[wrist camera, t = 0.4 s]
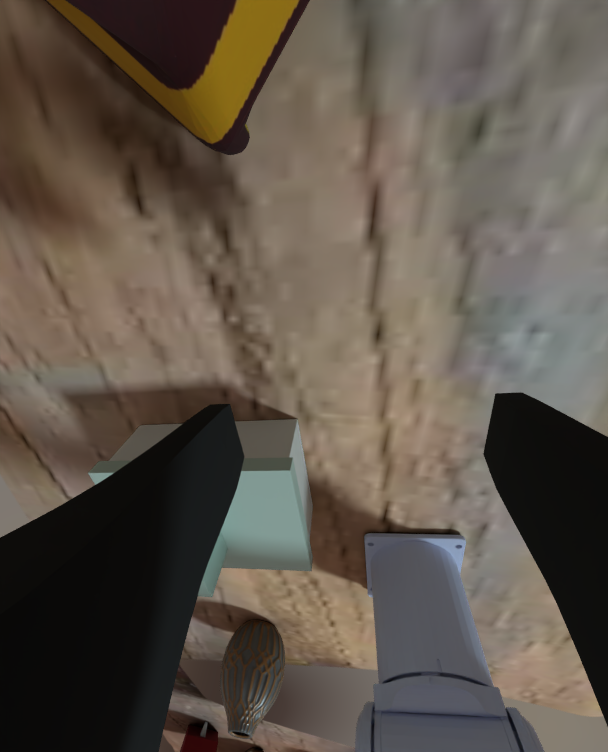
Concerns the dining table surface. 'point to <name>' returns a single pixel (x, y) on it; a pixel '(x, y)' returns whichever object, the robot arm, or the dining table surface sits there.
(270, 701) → the vase
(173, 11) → the decorative lantern
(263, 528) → the lid
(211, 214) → the dining table surface
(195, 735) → the alarm clock
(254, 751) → the tin
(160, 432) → the tub
